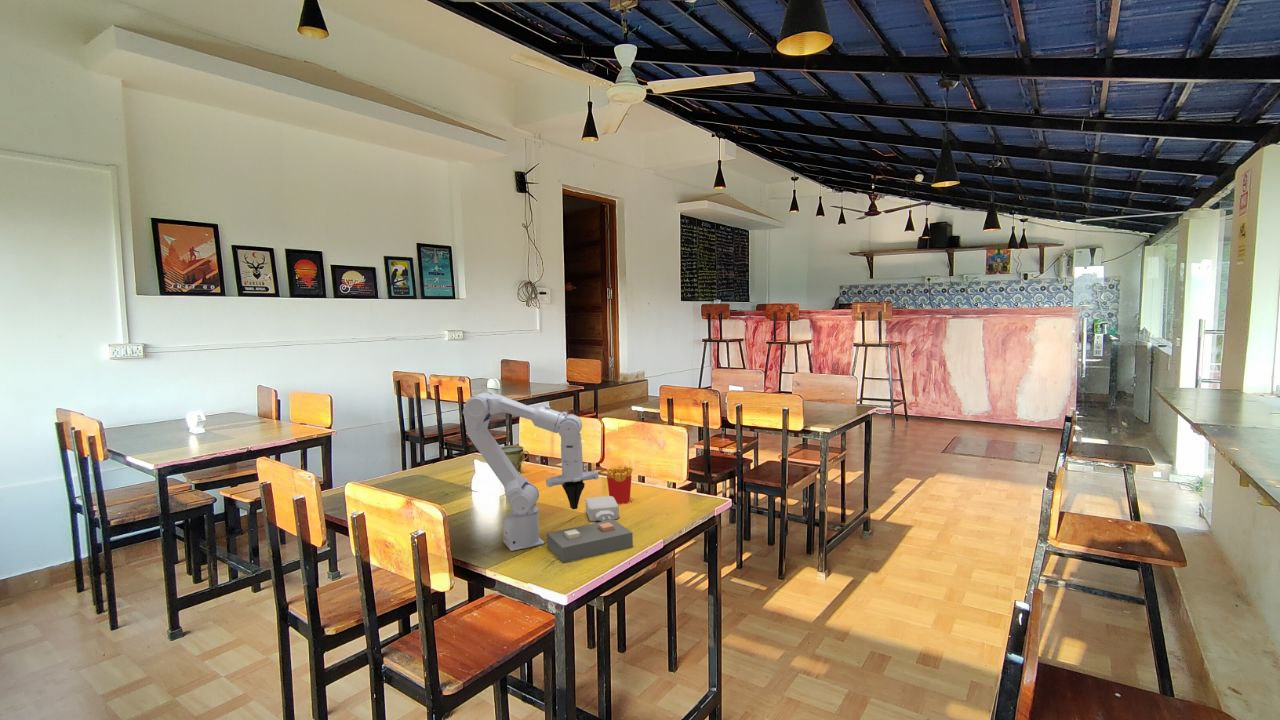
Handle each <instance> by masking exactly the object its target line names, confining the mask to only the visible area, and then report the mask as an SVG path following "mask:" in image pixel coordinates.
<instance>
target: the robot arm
mask: <svg viewBox="0 0 1280 720" xmlns="http://www.w3.org/2000/svg"><path fill="white" fill-rule="evenodd" d="M500 413H504V414H505V413H506V414H510V415H513V416H517V417H520V418H523V419H526V420H530V421H531V423H532V424H533V426H534V427H536V428H539V429H543V430H545V431H548V432H552V433H553V434H558V435H559V437H560V440H561V441H560V457H561V458H560V459H561V474H559V475H556V476H553V477H548V478H546V479H545V483H546V487H548V488H551V487H554V486H560V485H561V487H562V488H563V490H564V492H565V495H566V496H567V499H568V502H569V507H570V509H571V510H577V509H578V507H579V502H580V497H581V495H582V492H583V491H584V488H585V484H586V483H585V482H584V481H591V480H599V479H600V478H599V472H598V471H597V470H591V471H584V469H583V467H584V465H583V442H582V434H581V433H580V432H581V431H582V428H583V421H582V419H581V418H580V417H579V416H578V415H576V414H574V413H569V414H568V413H567V412H566V411H563V412H561V411H558V410H554V409H551V406H550V405H545V406H543V405H541V406H538V407H536V408H534V407H532V406H530V405H527V404H525V403H521V402H519V401H517V400H514V399H511V398H508V397H506V396H503V395H502V394H499V393H492V392H490V391H481V392H479V393H478V394H475V395H472V396H470V397H469V398H468V399H467V400H466V401H465V403H464V407H463V410H462V414H463V417H464V421H465V423H464V424H465V429H466V430H465V431H466V435H467V436H468V438H469V439H470V441H471V442H472V443H473V445H474V446H475V448H476V449H477V451H478V452H479V454H480V455H481V456H482V458H483V459H484V460H485V462H486V463H487V465H488V466H489V467H490V469H491V470H492V472H493V473H494V474H495V476H496V477H497V479H498V481H499V482H500V483H501V485H502V486H503V488H504V494H505V497H506V499H507V501H508V504H509V509H510V510H511V512H510V513H508V514H505V515H503V518H502V526H503V539H502V541H503V543H504V545H505V546H506V547H507V548H508V549H509V550H510V551H511V552H515V551H517V550H521V549H522V550H523V549H527V548H533V547H537V546H543V545H545V541H544V540H543V539H542V538H540V525H539V524H540V522H539V521H540V520H539V519H540V518H539V507H538V506H537V501H538V500H539V497H540V492H539V489H538V488H537V486H536V485H535V484H532V483H531V482H529V480H528V479H527V478H526V477H525V476H523V475H522V474H520V473H518V471H517V470H516V469H515V467H514V466H513V464H512V463H511V462H510V460H509V459H508V457H507V456H506V455H505V453H504V452H503V450H502V449H501V447H502V446H500V444H499V443H498V442H497V441H496V438H494V436H493V435H492V433H491V431H489V429H488V428H489V427H488V426H489V423H490V419H491V417H492V416H493V415H496V414H500Z"/></svg>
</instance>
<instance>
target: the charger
mask: <svg viewBox="0 0 1280 720" xmlns="http://www.w3.org/2000/svg"><path fill="white" fill-rule="evenodd" d="M585 512H586V515H587V517H588V520H589V521H590V522H603V521H608V520H612V519H614V520H617V519H619V517H620V507H619V504H617V502H616V500H615V498H614V497H612V496H609V495H606V496H593V497H588V498H586V499H585Z"/></svg>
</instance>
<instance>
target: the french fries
mask: <svg viewBox="0 0 1280 720" xmlns="http://www.w3.org/2000/svg"><path fill="white" fill-rule="evenodd" d="M606 472H607V473H606V474H607V476H606V480H607V487H608V488H607V489H608V496H612V497H614V498H615V500H616V502H617V504H618V505H623V504H622V503H624V504H629V503H630V501H631V488H632V487H631V486H632V476H633V475H632V473H633V467H632V466H628V465H626V464H625V465H624V466H623V464H621V465H617V466H611V467H609V468H606Z"/></svg>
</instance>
